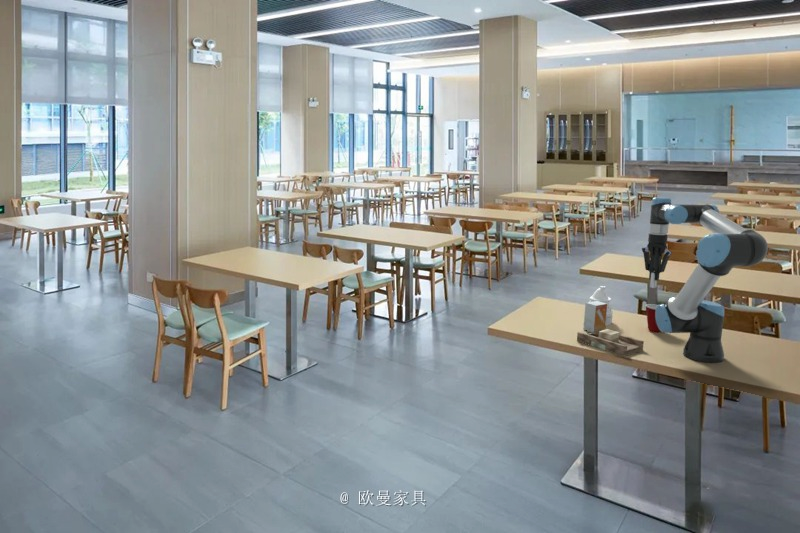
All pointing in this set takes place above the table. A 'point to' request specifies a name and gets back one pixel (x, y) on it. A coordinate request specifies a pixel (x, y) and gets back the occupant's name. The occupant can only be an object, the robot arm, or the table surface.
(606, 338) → the block
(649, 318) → the plastic cup
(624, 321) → the table surface
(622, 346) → the wooden tray
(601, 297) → the white piece
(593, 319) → the small box
